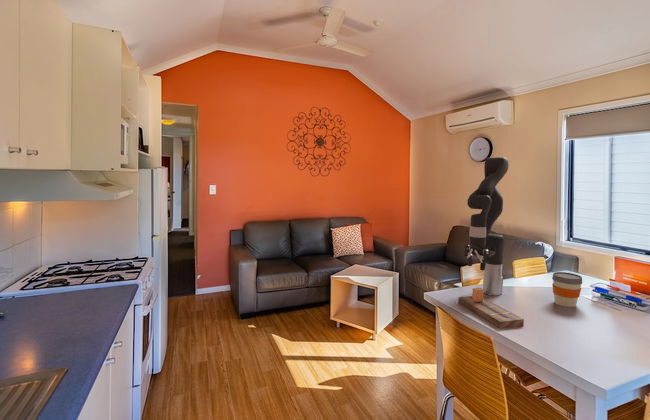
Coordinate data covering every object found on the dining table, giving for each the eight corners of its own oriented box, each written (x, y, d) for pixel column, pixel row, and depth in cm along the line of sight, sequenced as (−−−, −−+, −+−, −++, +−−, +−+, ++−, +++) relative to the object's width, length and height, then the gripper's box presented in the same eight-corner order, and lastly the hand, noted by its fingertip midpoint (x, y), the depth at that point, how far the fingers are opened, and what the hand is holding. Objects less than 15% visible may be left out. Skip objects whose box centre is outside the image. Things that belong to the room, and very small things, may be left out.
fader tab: (479, 299, 170) (479, 287, 170) (483, 301, 167) (483, 289, 167) (472, 299, 170) (472, 288, 169) (475, 301, 167) (476, 290, 166)
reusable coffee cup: (548, 304, 173) (550, 275, 171) (552, 297, 182) (554, 270, 180) (578, 310, 164) (581, 280, 163) (581, 303, 173) (584, 275, 172)
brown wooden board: (478, 300, 177) (478, 295, 177) (523, 325, 148) (523, 318, 147) (458, 302, 174) (458, 296, 174) (499, 328, 145) (500, 321, 145)
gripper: (495, 237, 159) (493, 271, 160) (473, 233, 172) (472, 264, 174) (482, 238, 157) (480, 272, 158) (461, 233, 170) (459, 265, 172)
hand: (475, 268), depth 166 cm, fingers open, 8 cm apart
